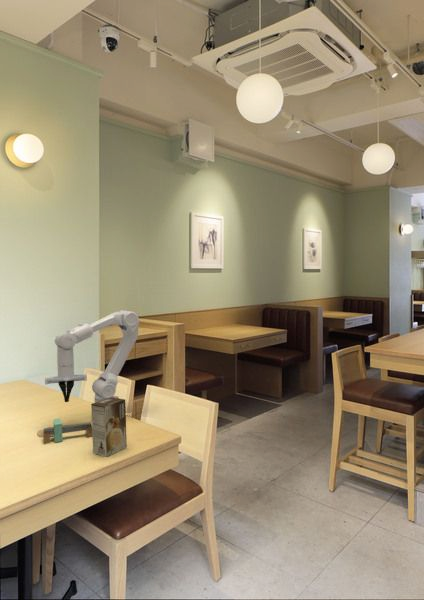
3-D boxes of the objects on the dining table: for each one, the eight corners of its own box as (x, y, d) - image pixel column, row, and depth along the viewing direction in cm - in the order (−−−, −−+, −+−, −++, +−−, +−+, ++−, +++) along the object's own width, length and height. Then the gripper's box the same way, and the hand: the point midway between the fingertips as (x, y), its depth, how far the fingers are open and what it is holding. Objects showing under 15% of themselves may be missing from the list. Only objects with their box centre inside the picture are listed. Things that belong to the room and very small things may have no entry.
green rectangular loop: (61, 435, 152) (60, 418, 152) (62, 441, 147) (61, 423, 146) (53, 436, 151) (53, 419, 151) (54, 442, 146) (54, 424, 145)
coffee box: (113, 443, 144) (112, 396, 144) (127, 447, 141) (126, 399, 140) (92, 453, 137) (90, 403, 136) (106, 457, 133) (105, 406, 132)
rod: (91, 432, 155) (90, 420, 155) (92, 436, 151) (92, 424, 151) (43, 438, 149) (43, 426, 149) (43, 443, 145) (43, 431, 144)
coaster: (62, 426, 161) (62, 425, 161) (64, 434, 153) (64, 433, 153) (36, 430, 158) (36, 429, 158) (37, 438, 149) (37, 437, 149)
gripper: (44, 368, 153) (46, 406, 153) (87, 365, 158) (88, 401, 159) (44, 365, 159) (45, 401, 160) (85, 361, 165) (86, 397, 166)
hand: (66, 401), depth 160 cm, fingers closed
